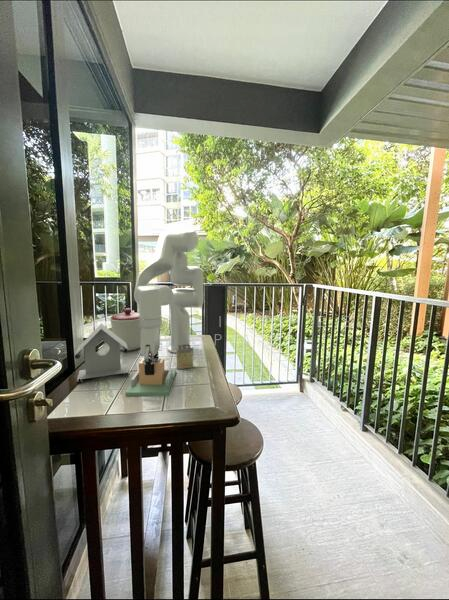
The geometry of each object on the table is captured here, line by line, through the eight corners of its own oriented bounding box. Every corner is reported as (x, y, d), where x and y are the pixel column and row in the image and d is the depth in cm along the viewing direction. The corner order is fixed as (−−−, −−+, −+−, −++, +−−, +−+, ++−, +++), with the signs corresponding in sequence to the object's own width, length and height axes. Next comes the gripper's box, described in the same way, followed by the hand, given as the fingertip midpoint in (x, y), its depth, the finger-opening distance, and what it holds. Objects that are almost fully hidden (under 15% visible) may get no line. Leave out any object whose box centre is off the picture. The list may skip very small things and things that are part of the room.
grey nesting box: (76, 384, 99) (72, 331, 96) (78, 374, 108) (75, 325, 105) (129, 376, 106) (127, 326, 104) (127, 367, 115) (125, 321, 112)
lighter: (192, 364, 119) (191, 342, 118) (194, 367, 115) (194, 345, 114) (175, 366, 117) (175, 344, 115) (177, 370, 113) (177, 346, 112)
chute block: (143, 378, 101) (142, 357, 100) (164, 378, 102) (164, 357, 100) (139, 384, 96) (138, 362, 95) (162, 384, 97) (161, 362, 96)
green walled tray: (141, 372, 110) (141, 363, 110) (176, 371, 111) (176, 363, 110) (125, 395, 91) (125, 385, 90) (167, 395, 91) (167, 385, 91)
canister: (151, 343, 151) (150, 305, 148) (141, 353, 133) (140, 311, 130) (118, 342, 151) (116, 305, 148) (104, 353, 133) (102, 311, 130)
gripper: (146, 317, 105) (147, 362, 107) (132, 328, 88) (134, 380, 90) (165, 317, 105) (166, 361, 107) (156, 328, 88) (157, 380, 90)
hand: (152, 370), depth 99 cm, fingers open, 6 cm apart
